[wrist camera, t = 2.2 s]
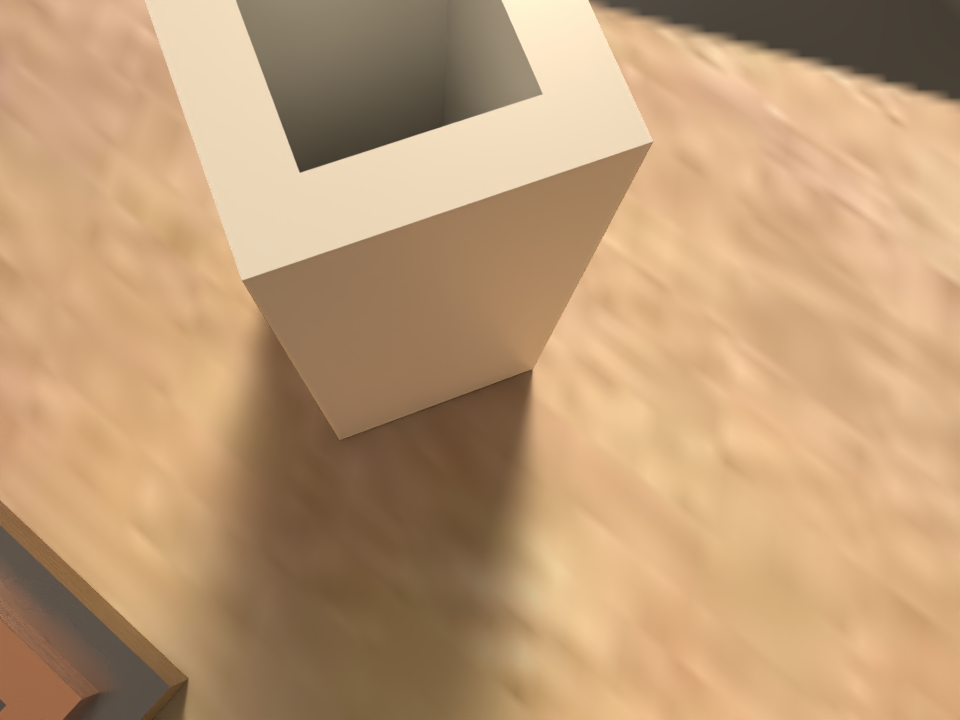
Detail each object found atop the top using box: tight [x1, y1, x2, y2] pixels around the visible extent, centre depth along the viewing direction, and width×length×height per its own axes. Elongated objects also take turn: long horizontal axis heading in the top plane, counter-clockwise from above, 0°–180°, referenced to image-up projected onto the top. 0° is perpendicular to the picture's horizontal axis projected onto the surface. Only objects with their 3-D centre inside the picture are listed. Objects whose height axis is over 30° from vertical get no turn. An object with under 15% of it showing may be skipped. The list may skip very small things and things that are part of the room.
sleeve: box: [145, 0, 653, 440], centre depth 17 cm, size 5×5×12 cm
